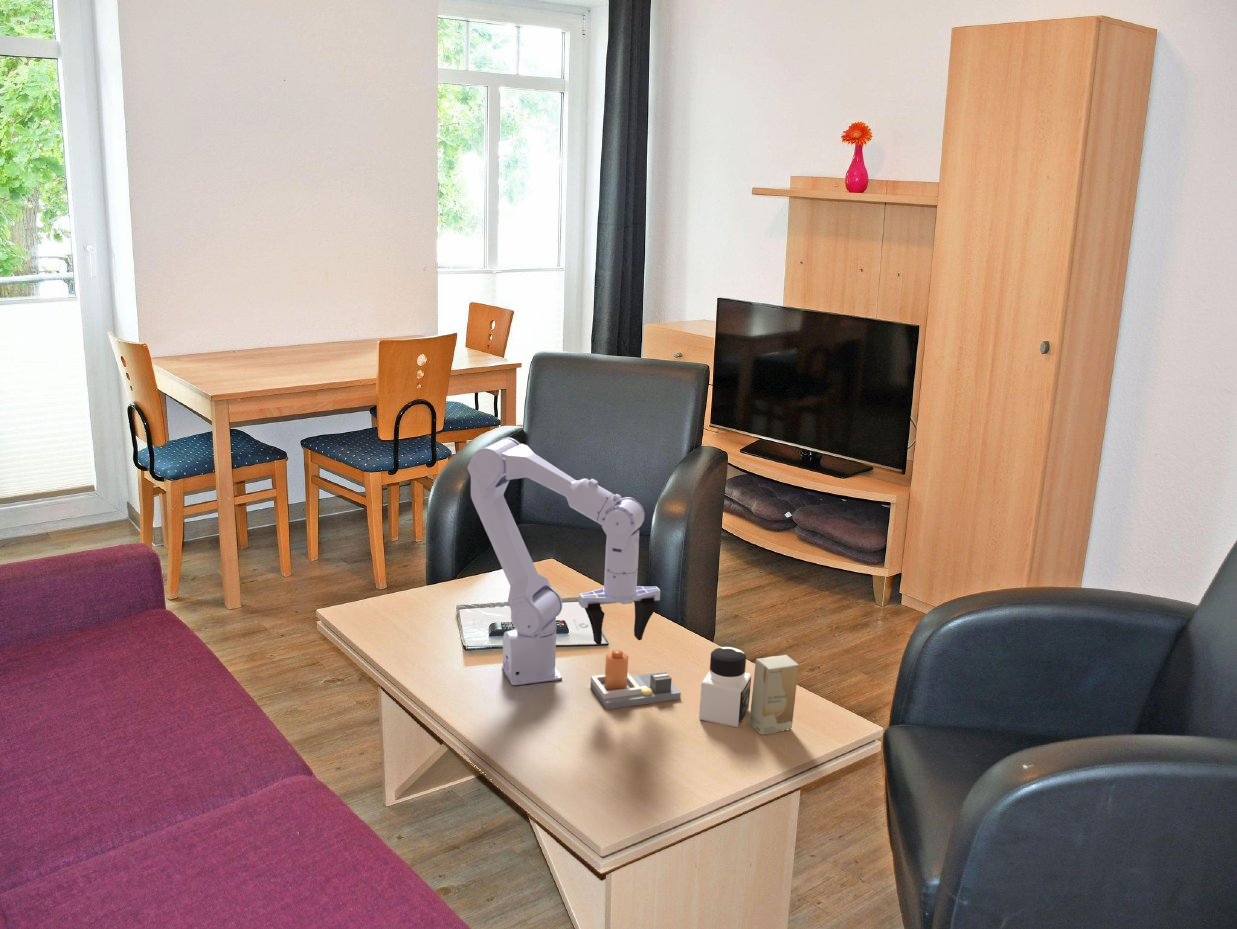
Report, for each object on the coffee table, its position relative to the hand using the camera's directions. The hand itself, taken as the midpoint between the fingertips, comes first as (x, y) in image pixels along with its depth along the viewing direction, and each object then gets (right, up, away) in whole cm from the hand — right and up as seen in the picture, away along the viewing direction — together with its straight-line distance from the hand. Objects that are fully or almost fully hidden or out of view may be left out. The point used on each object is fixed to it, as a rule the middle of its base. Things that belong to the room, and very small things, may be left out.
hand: (617, 640), depth 193 cm
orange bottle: (0, -9, +1) cm, 9 cm away
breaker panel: (+3, -10, +2) cm, 11 cm away
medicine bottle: (+18, -12, -4) cm, 23 cm away
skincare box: (+26, -14, -8) cm, 30 cm away
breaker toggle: (+8, -9, +1) cm, 12 cm away
